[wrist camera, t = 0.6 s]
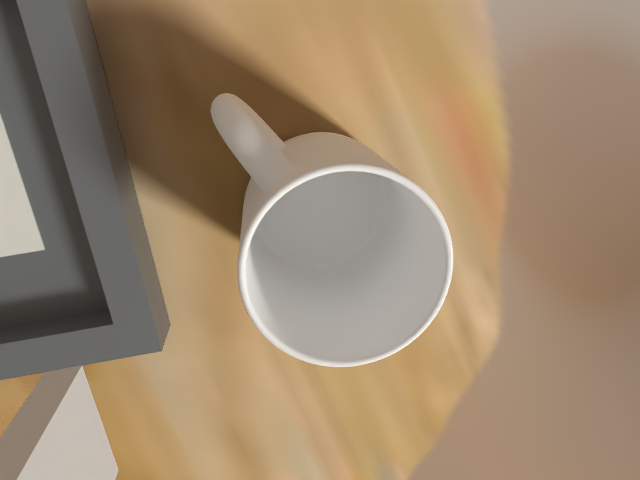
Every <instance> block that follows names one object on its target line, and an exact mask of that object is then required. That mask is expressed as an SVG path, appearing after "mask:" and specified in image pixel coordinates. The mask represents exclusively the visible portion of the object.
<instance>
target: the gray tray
mask: <svg viewBox="0 0 640 480" xmlns="http://www.w3.org/2000/svg"><path fill="white" fill-rule="evenodd" d="M169 327H170V322H169V318H168V314H167V310H166V306H165V302H164V299H163V295H162V291H161V287H160V283H159V280H158V276H157V272H156V268H155V264H154V260H153V257H152V253H151V249H150V245H149V241H148V237H147V234H146V230H145V226H144V222H143V218H142V214H141V211H140V207H139V203H138V199H137V195H136V191H135V188H134V184H133V180H132V176H131V172H130V169H129V165H128V161H127V157H126V153H125V149H124V146H123V142H122V138H121V134H120V130H119V126H118V123H117V119H116V115H115V111H114V107H113V103H112V100H111V96H110V92H109V88H108V84H107V81H106V77H105V73H104V69H103V65H102V61H101V58H100V54H99V50H98V46H97V42H96V38H95V35H94V31H93V27H92V23H91V19H90V15H89V12H88V8H87V4H86V0H0V380H3V379H9V378H14V377H20V376H26V375H31V374H37V373H42V372H48V371H53V370H59V369H65V368H70V367H76V366H81V365H87V364H92V363H98V362H103V361H109V360H115V359H120V358H126V357H131V356H137V355H142V354H148V353H154V352H159V351H162V349H163V346H164V342H165V339H166V336H167V333H168V330H169Z"/></svg>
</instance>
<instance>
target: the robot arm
mask: <svg viewBox="0 0 640 480" xmlns="http://www.w3.org/2000/svg"><path fill="white" fill-rule="evenodd" d="M117 473H118V467H117V465H116V462H115V459H114V456H113V453H112V450H111V447H110V444H109V442H108V439H107V436H106V433H105V430H104V427H103V424H102V421H101V419H100V416H99V413H98V410H97V407H96V404H95V401H94V399H93V396H92V393H91V390H90V387H89V384H88V381H87V378H86V376H85V373H84V370H83V367H82V365H81V366H76V367H71V368H66V369H61V370H55V371H50V372H45V373H44V374H43V376H42V377H41V379H40V380H39V382H38V383H37V385H36V386H35V388H34V389H33V391H32V392H31V394H30V395H29V397H28V398H27V399H26V401H25V402H24V404H23V405H22V407H21V408H20V410H19V411H18V413H17V414H16V416H15V417H14V419H13V420H12V422H11V423H10V425H9V426H8V428H7V429H6V430H5V432H4V433H3V435H2V436H1V438H0V480H115V479H116V476H117Z"/></svg>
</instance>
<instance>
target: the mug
mask: <svg viewBox="0 0 640 480" xmlns="http://www.w3.org/2000/svg"><path fill="white" fill-rule="evenodd" d="M211 116H212V120H213V122H214V125H215V126H216V128H217V130H218V132H219V133H220V135H221V136H222V138H223V139H224V141H225V143H226V144H227V146H228V147H229V148H230V150H231V151H232V153H233V154H234V155H235V157H236V158H237V159H238V161H239V162H240V163H241V165H242V166H243V167H244V169H245V170H246V171H247V172H248V174H249V175H250V176H251V179H250V181H249V183H248V186H247V189H246V193H245V198H244V205H243V215H242V225H241V235H240V245H239V255H238V283H239V290H240V294H241V297H242V301H243V304H244V306H245V308H246V310H247V313H248V315H249V316H250V318H251V320H252V321H253V323H254V325H255V326H256V327H257V328H258V330H259V331H260V332H261V333H262V334H263V335H264V336H265V337H266V338H267V339H268V340H269V341H270V342H271V343H272V344H273V345H275V346H276V347H278V348H279V349H281V350H282V351H283V352H285V353H287V354H289V355H291V356H293V357H295V358H297V359H300V360H302V361H305V362H308V363H312V364H316V365H321V366H330V367H349V366H358V365H363V364H367V363H371V362H374V361H377V360H380V359H383V358H385V357H387V356H389V355H392V354H394V353H396V352H397V351H399V350H401V349H402V348H404V347H405V346H407V345H408V344H410V343H411V342H412V341H413V340H414V339H416V338H417V337H418V336H419V335H420V334H421V333H422V332H423V331H424V330H425V329H426V328H427V327H428V326H429V324H430V323H431V322H432V320H433V319H434V318H435V316H436V315H437V313H438V311H439V310H440V308H441V306H442V304H443V302H444V300H445V297H446V295H447V293H448V289H449V286H450V282H451V277H452V270H453V248H452V240H451V237H450V233H449V229H448V226H447V224H446V222H445V219H444V217H443V215H442V213H441V212H440V210H439V208H438V207H437V205H436V204H435V203H434V201H433V200H432V199H431V198H430V197H429V195H428V194H427V193H426V192H425V191H424V190H422V189H421V188H420V187H419V186H418V185H417V184H416V183H414V182H413V181H412V180H410V179H409V178H408V177H406V176H405V175H404V174H403V173H401V172H400V171H399V170H397V169H396V168H395V167H393V166H392V165H391V164H390V163H388V162H387V161H386V160H384V159H383V158H382V157H380V156H379V155H378V154H376V153H375V152H374V151H373V150H371V149H370V148H368V147H367V146H365V145H364V144H362V143H361V142H359V141H357V140H355V139H353V138H350V137H347V136H344V135H341V134H337V133H331V132H313V133H307V134H303V135H299V136H296V137H293V138H291V139H289V140H287V141H285V142H283V141H282V140H281V139H280V138H279V137H278V136H277V135H276V133H275V132H274V131H273V130H272V129H271V128H270V127H269V126H268V125H267V124H266V123H265V121H264V120H263V119H262V118H261V117H260V116H259V115H258V114H257V113H256V112H255V111H254V110H253V109H252V108H251V107H250V106H248V105H247V104H246V103H245V102H244V101H242V100H241V99H240V98H239V97H237V96H236V95H233V94H230V93H224V94H220V95H218V96H217V97H216V98H215V99H214V100H213V102H212V105H211Z"/></svg>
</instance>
